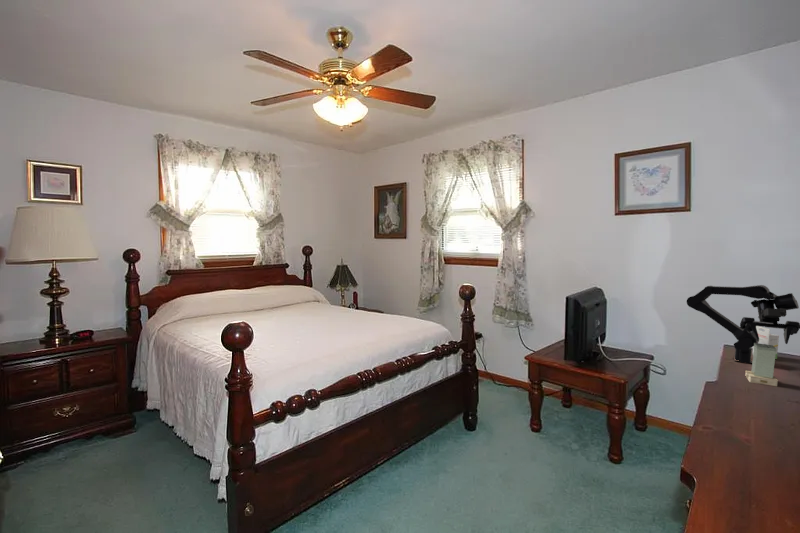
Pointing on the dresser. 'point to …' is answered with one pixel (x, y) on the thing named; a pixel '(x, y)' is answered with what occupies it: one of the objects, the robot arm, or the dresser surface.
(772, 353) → the green lidded box
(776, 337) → the ink box
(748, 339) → the robot arm
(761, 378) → the jewelry box
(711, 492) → the dresser surface
